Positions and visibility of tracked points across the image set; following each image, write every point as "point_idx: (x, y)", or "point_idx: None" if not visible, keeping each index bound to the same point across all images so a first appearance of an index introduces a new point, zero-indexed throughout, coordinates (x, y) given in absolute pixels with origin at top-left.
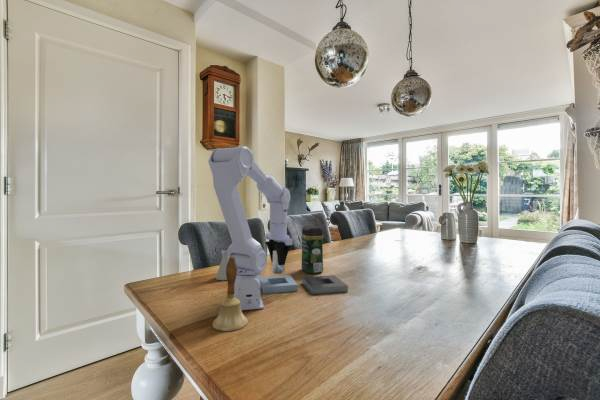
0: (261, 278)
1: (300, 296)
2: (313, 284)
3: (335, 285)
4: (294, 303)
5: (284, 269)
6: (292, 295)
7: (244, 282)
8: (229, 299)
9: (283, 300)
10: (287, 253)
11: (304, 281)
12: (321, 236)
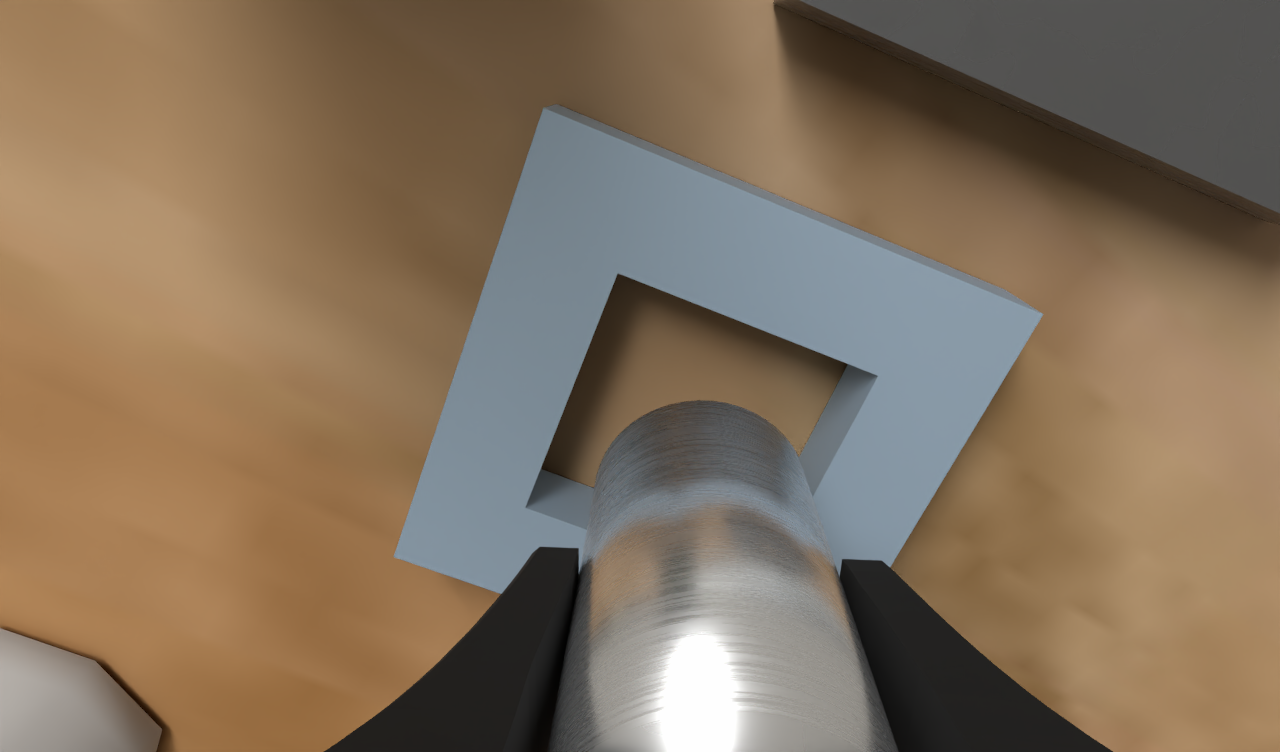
0: (465, 563)
1: (1178, 379)
2: (1230, 92)
3: None
4: (1271, 551)
5: (781, 449)
6: (1077, 436)
7: None
8: None
9: (1115, 591)
10: (1063, 726)
11: (931, 63)
12: None
